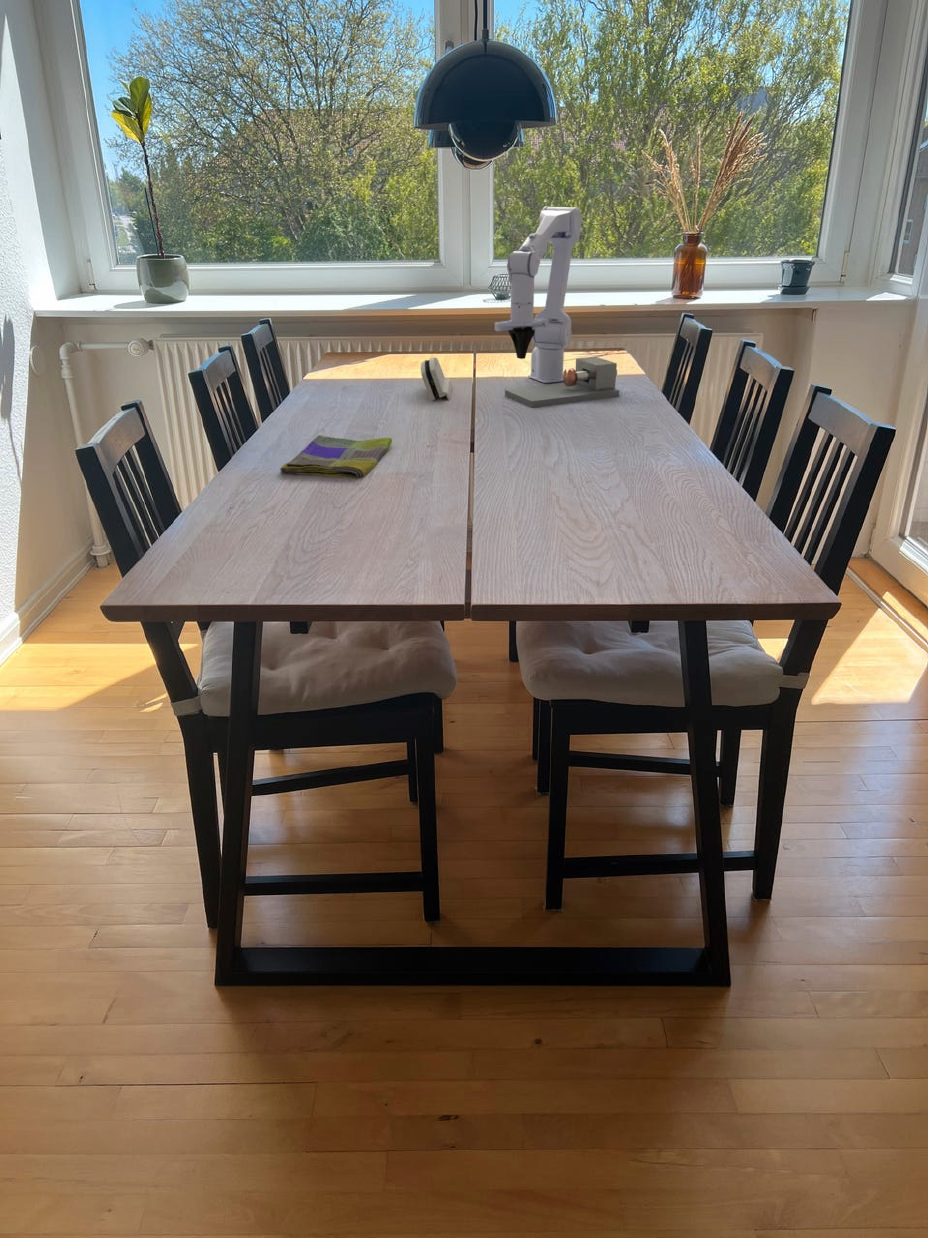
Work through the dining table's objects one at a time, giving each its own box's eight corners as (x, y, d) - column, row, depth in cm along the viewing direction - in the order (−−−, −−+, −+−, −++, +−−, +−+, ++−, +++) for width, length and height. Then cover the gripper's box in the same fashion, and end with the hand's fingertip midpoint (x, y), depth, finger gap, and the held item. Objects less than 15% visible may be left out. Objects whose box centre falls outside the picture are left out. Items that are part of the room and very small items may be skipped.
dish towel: (396, 447, 202) (396, 435, 201) (361, 482, 181) (360, 469, 179) (320, 443, 205) (319, 431, 204) (277, 477, 184) (275, 463, 183)
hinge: (450, 400, 238) (436, 362, 234) (432, 406, 239) (418, 369, 235) (452, 385, 253) (439, 350, 249) (436, 391, 254) (422, 356, 250)
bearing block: (574, 383, 248) (576, 358, 245) (593, 381, 250) (595, 356, 247) (595, 391, 240) (597, 365, 237) (615, 388, 242) (616, 363, 239)
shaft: (562, 384, 243) (563, 367, 241) (609, 378, 248) (610, 362, 246) (571, 387, 239) (572, 370, 237) (618, 382, 245) (620, 365, 243)
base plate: (504, 395, 242) (505, 389, 241) (589, 385, 252) (589, 379, 252) (531, 407, 231) (531, 401, 230) (619, 395, 241) (619, 390, 240)
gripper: (504, 306, 226) (503, 363, 233) (555, 302, 232) (553, 358, 238) (490, 302, 232) (490, 358, 238) (541, 298, 238) (539, 353, 244)
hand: (521, 357), depth 239 cm, fingers closed
